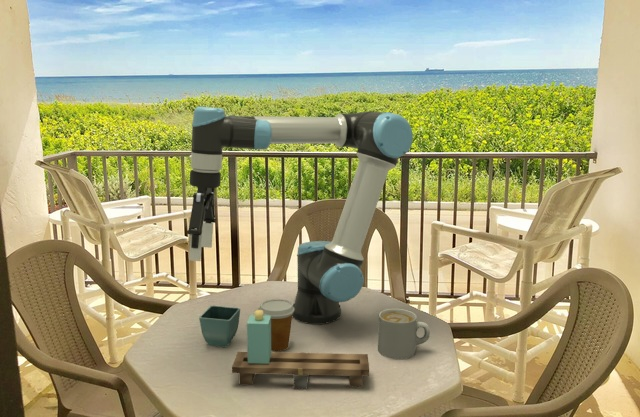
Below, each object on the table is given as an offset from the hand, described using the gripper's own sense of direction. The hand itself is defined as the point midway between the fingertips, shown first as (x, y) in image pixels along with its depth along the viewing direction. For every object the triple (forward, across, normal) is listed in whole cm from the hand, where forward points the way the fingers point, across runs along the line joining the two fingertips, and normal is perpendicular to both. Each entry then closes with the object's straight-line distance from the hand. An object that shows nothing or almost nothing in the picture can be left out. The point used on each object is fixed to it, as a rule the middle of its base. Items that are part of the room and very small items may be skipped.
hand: (200, 253), depth 145 cm
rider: (+23, +12, +18) cm, 31 cm away
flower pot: (+27, -8, +6) cm, 29 cm away
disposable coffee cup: (+26, -6, +21) cm, 34 cm away
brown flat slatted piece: (+26, +12, +28) cm, 40 cm away
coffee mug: (+23, -4, +55) cm, 59 cm away
